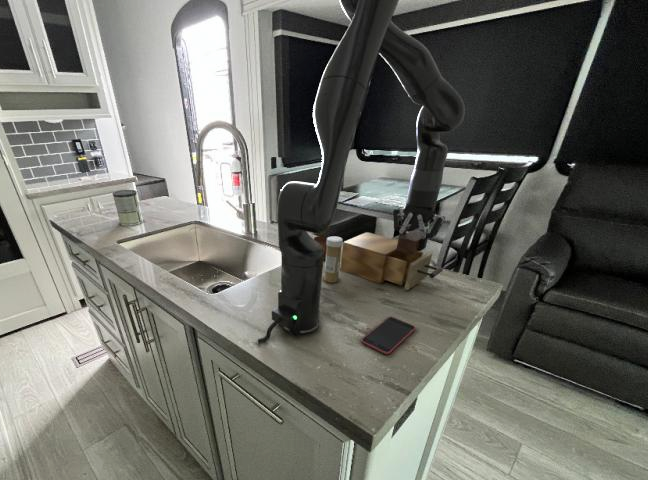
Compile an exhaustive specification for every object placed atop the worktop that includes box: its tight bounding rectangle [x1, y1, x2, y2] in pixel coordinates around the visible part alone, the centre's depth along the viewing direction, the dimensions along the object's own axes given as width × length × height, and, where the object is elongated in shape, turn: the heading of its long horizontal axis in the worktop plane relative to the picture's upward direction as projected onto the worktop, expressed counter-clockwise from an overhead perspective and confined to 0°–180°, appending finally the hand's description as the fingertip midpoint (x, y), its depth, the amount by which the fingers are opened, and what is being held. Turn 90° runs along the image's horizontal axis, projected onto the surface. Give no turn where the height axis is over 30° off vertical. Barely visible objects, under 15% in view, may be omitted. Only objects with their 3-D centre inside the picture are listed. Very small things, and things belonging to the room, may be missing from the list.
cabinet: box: [339, 231, 398, 285], centre depth 104 cm, size 15×14×10 cm
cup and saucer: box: [313, 235, 331, 260], centre depth 116 cm, size 12×12×6 cm
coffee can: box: [112, 189, 144, 227], centre depth 150 cm, size 10×10×14 cm
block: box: [396, 230, 421, 255], centre depth 93 cm, size 5×8×4 cm, turn 134°
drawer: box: [382, 251, 444, 291], centre depth 97 cm, size 18×12×8 cm
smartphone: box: [361, 316, 416, 355], centre depth 75 cm, size 7×1×14 cm
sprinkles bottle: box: [323, 236, 344, 283], centre depth 97 cm, size 5×5×14 cm
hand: (410, 247), depth 93 cm, fingers closed on block, 5 cm apart
